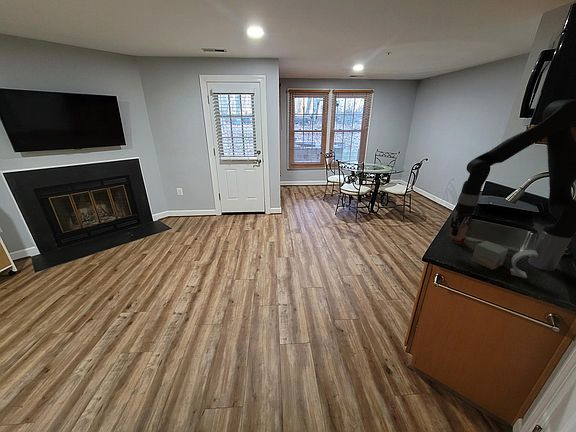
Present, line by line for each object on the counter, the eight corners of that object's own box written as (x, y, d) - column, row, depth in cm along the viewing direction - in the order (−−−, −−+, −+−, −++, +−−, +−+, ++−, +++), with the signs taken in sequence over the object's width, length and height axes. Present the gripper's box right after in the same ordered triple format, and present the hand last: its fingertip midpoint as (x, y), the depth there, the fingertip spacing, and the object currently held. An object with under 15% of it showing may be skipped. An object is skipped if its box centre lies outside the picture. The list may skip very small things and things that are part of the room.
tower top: (483, 248, 118) (486, 240, 116) (504, 257, 111) (508, 249, 109) (473, 252, 114) (476, 244, 112) (495, 261, 107) (498, 253, 105)
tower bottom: (480, 256, 120) (483, 248, 118) (501, 265, 112) (505, 257, 111) (470, 260, 116) (473, 252, 114) (491, 270, 108) (495, 262, 107)
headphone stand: (526, 278, 103) (538, 255, 98) (508, 273, 106) (519, 250, 101) (524, 273, 106) (535, 250, 101) (507, 268, 109) (517, 246, 105)
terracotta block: (454, 233, 121) (457, 222, 119) (464, 237, 117) (468, 226, 115) (448, 235, 119) (451, 224, 117) (458, 239, 115) (462, 228, 113)
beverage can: (465, 244, 130) (474, 220, 125) (452, 243, 131) (460, 218, 126) (460, 239, 136) (468, 215, 130) (448, 238, 137) (455, 214, 131)
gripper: (467, 207, 105) (456, 240, 112) (484, 202, 111) (473, 234, 118) (450, 202, 111) (440, 234, 118) (467, 198, 117) (457, 228, 124)
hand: (457, 234), depth 118 cm, fingers closed on terracotta block, 5 cm apart
